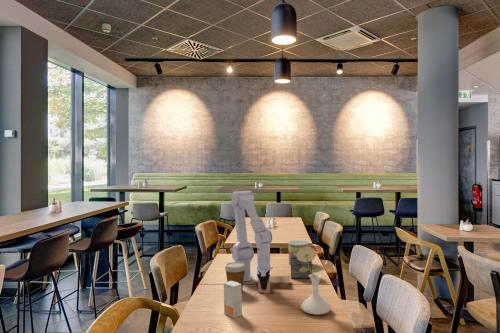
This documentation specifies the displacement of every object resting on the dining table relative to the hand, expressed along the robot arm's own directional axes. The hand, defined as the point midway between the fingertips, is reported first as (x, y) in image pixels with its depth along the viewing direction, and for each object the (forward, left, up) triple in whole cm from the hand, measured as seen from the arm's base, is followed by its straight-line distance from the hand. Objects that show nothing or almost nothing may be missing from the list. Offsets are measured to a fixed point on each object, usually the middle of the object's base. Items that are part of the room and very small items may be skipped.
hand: (264, 287), depth 163 cm
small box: (+18, +20, -2) cm, 27 cm away
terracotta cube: (0, 0, -1) cm, 1 cm away
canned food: (+18, +44, -2) cm, 48 cm away
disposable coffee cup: (-13, -1, -2) cm, 13 cm away
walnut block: (+7, +8, -2) cm, 11 cm away
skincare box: (-11, -26, -2) cm, 28 cm away
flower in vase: (+20, -22, -2) cm, 30 cm away
